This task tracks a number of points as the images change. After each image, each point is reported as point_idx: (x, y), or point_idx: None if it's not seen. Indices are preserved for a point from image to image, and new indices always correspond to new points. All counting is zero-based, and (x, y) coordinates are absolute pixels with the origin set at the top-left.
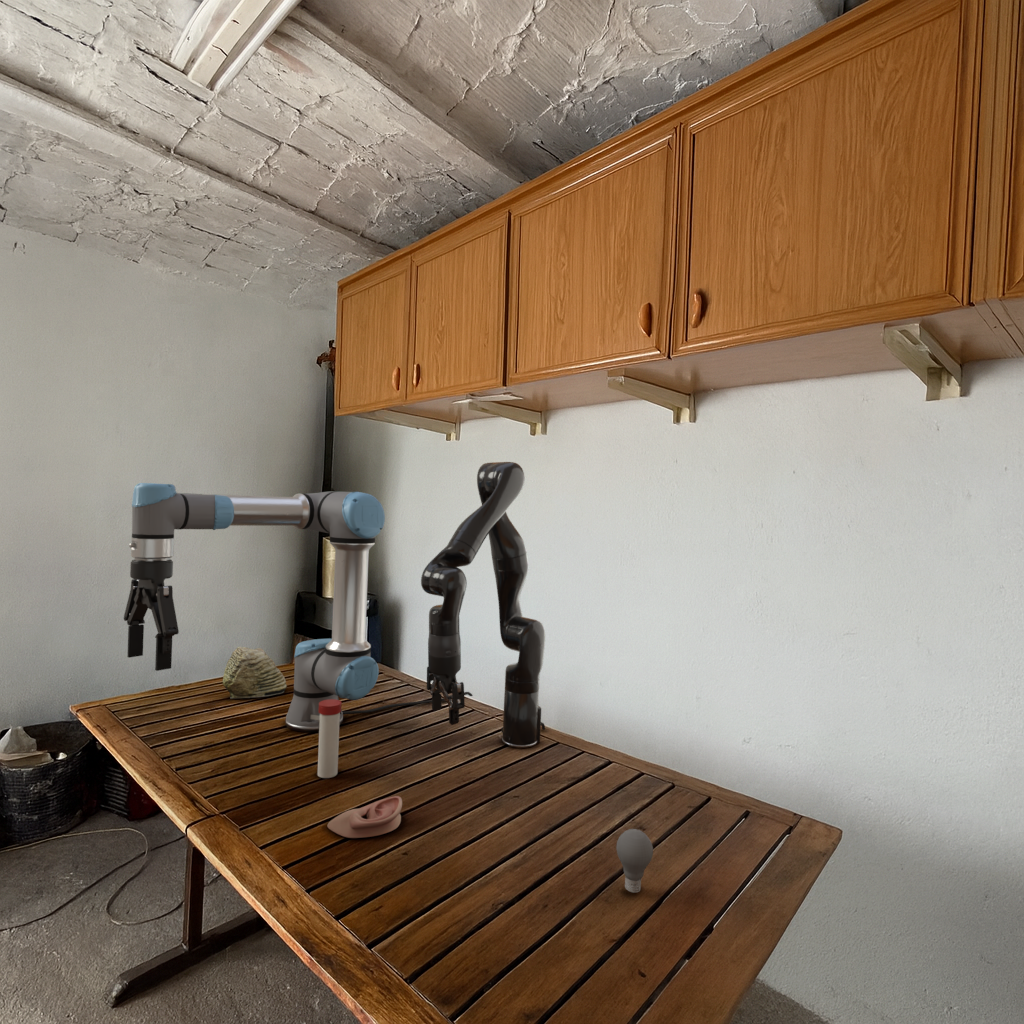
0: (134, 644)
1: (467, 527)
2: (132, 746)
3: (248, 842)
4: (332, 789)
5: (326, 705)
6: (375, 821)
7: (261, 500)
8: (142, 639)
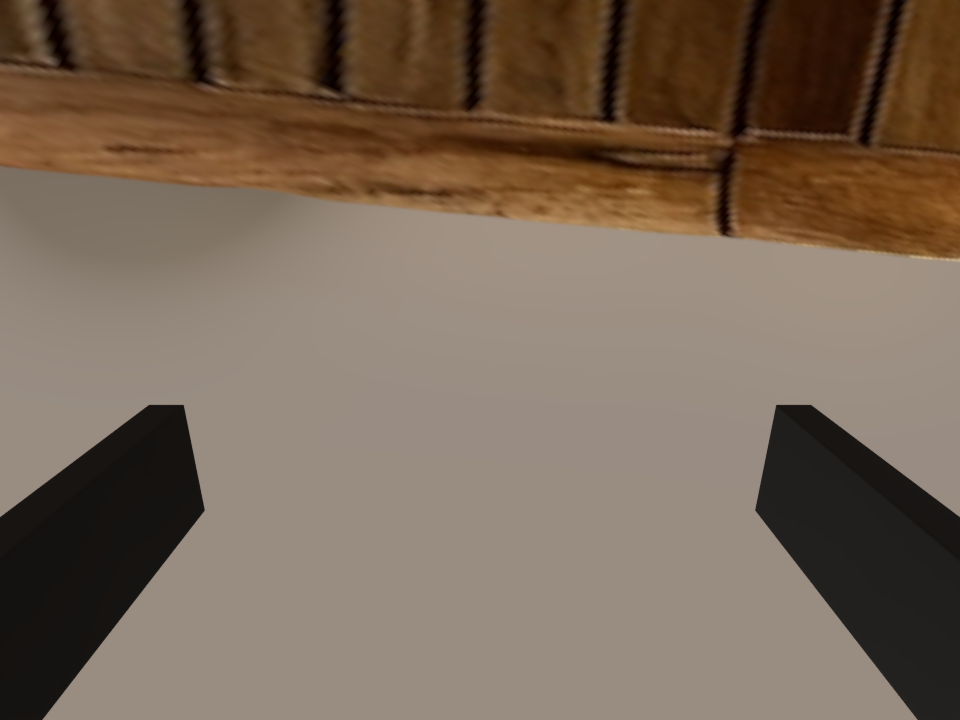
0: (131, 550)
1: None
2: (16, 115)
3: (939, 164)
4: None
5: None
6: None
7: None
8: (79, 505)
